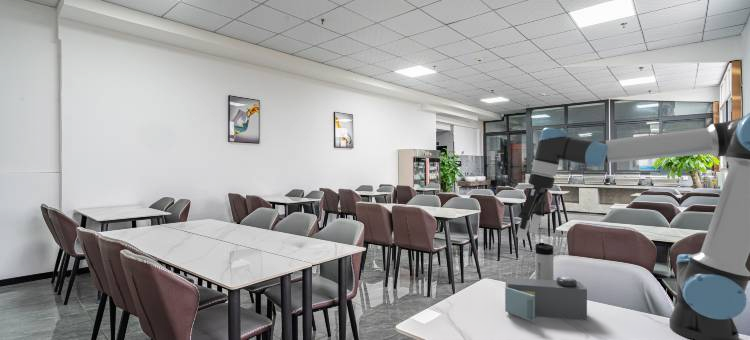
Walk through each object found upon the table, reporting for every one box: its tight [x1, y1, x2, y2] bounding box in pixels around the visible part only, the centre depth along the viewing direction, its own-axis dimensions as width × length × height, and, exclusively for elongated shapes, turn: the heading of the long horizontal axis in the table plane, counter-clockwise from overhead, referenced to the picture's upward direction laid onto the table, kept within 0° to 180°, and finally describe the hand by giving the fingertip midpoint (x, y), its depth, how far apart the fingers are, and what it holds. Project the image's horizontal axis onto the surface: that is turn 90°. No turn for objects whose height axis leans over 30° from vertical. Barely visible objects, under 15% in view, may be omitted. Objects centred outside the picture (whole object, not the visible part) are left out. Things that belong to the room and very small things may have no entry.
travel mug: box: [534, 242, 554, 280], centre depth 137 cm, size 6×7×20 cm
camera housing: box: [505, 276, 588, 321], centre depth 123 cm, size 24×8×12 cm, turn 75°
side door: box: [504, 286, 536, 322], centre depth 117 cm, size 10×2×8 cm, turn 35°
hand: (526, 235), depth 122 cm, fingers open, 13 cm apart
